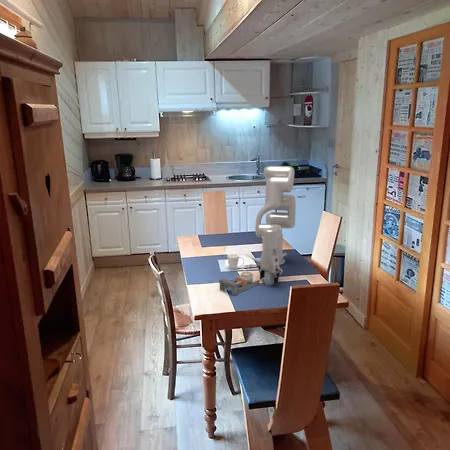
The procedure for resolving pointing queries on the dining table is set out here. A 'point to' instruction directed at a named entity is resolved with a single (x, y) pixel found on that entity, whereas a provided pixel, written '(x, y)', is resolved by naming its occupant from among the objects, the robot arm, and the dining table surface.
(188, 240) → the dining table surface
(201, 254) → the dining table surface
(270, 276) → the jar
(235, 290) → the lane
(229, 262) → the cup
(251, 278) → the jar resting
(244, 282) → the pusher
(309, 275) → the dining table surface
